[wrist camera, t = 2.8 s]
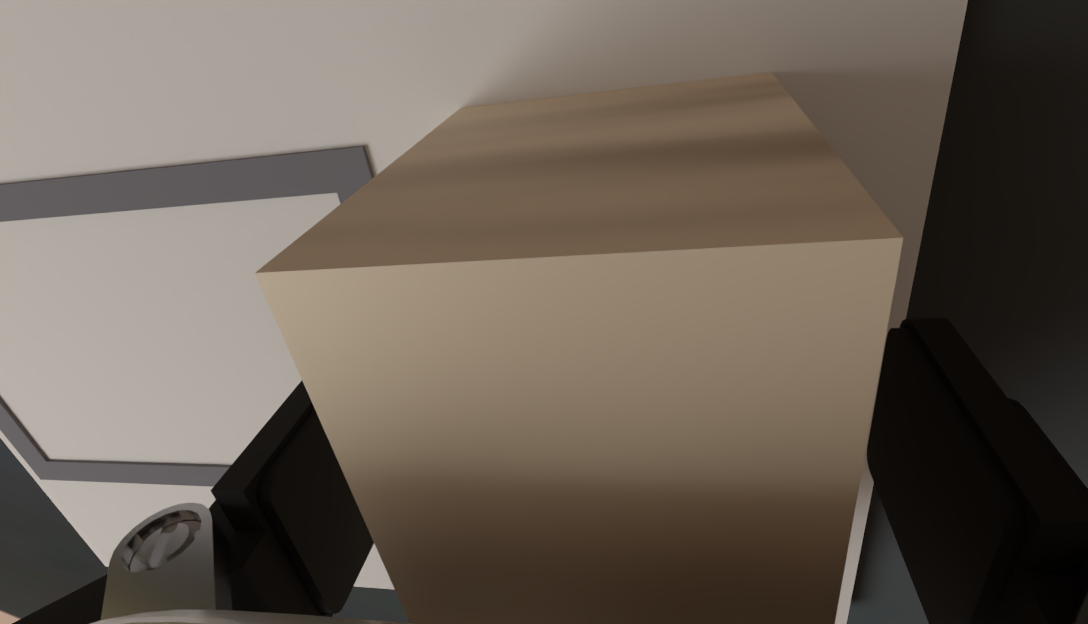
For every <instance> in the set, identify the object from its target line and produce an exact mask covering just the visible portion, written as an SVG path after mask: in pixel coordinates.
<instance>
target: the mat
mask: <svg viewBox="0 0 1088 624" xmlns="http://www.w3.org/2000/svg"><path fill="white" fill-rule="evenodd" d="M967 3H968V0H0V438H1V439H2V441H3V442H4V443H5V444H6V445H7V447H8V448H9V449H10V450H11V451H12V453H13V454H14V455H15V456H16V458H17V459H18V460H19V461H20V462H21V464H22V465H23V466H24V467H25V469H26V470H27V471H28V472H29V473H30V475H31V476H32V477H33V478H34V480H35V481H36V482H37V483H38V484H39V486H40V487H41V488H42V489H43V491H44V492H45V493H46V494H47V495H48V497H49V498H50V499H51V500H52V502H53V503H54V504H55V505H56V506H57V508H58V509H59V510H60V511H61V513H62V514H63V515H64V516H65V517H66V519H67V520H68V521H69V522H70V524H71V525H72V526H73V527H74V528H75V530H76V531H77V532H78V533H79V535H80V536H81V537H82V538H83V539H84V541H85V542H86V543H87V544H88V546H89V547H90V548H91V549H92V550H93V552H94V553H95V554H96V555H97V557H98V558H99V559H100V560H101V561H102V563H103V564H104V565H105V566H107V567H109V562H110V560H111V557H112V554H113V551H114V550H115V548H116V547H117V546H118V544H119V543H120V541H121V540H122V539H123V538H124V537H125V536H126V535H127V534H128V533H129V532H130V531H131V530H132V529H133V528H134V527H135V526H137V525H138V524H139V523H141V522H142V521H144V520H145V519H146V518H148V517H149V516H151V515H153V514H155V513H157V512H159V511H161V510H163V509H165V508H168V507H171V506H174V505H177V504H183V503H191V502H192V503H198V504H203V505H204V506H205V507H207V508H208V509H209V507H210V506H211V505H212V504H213V502H214V501H215V500H216V499H215V497H214V496H213V494H212V492H211V491H210V490H211V489H212V488H213V487H214V486H215V484H216V483H217V482H218V481H219V480H220V478H221V477H222V476H223V475H224V473H225V472H226V471H227V470H228V469H229V467H230V466H231V465H232V464H233V463H234V461H235V460H236V459H237V458H238V457H239V455H240V454H241V453H242V452H243V451H244V449H245V448H246V447H247V446H248V445H249V443H250V442H251V441H252V440H253V439H254V437H255V436H256V435H257V434H258V433H259V431H260V430H261V429H262V428H263V426H264V425H265V424H266V423H267V422H268V420H269V419H270V418H271V417H272V416H273V414H274V413H275V412H276V411H277V410H278V408H279V407H280V406H281V405H282V404H283V402H284V401H285V400H286V399H287V398H288V396H289V395H290V394H291V393H292V392H293V390H294V389H295V388H296V387H297V385H298V384H299V383H300V382H301V381H302V379H301V377H300V374H299V372H298V370H297V368H296V365H295V363H294V361H293V358H292V356H291V354H290V352H289V349H288V347H287V345H286V343H285V340H284V338H283V336H282V334H281V331H280V329H279V327H278V325H277V322H276V320H275V318H274V316H273V313H272V311H271V309H270V307H269V304H268V302H267V300H266V297H265V295H264V293H263V291H262V288H261V286H260V284H259V282H258V279H257V277H256V275H255V272H257V271H258V270H259V269H260V268H262V267H263V266H264V265H265V264H267V263H268V262H269V261H270V260H272V259H273V258H274V257H275V256H277V255H278V254H279V253H280V252H282V251H283V250H284V249H285V248H287V247H288V246H289V245H290V244H292V243H293V242H294V241H295V240H296V239H298V238H299V237H300V236H301V235H303V234H304V233H305V232H306V231H308V230H309V229H310V228H311V227H313V226H314V225H315V224H316V223H318V222H319V221H320V220H321V219H323V218H324V217H325V216H326V215H328V214H329V213H330V212H331V211H333V210H334V209H335V208H336V207H338V206H339V205H340V204H341V203H343V202H344V201H345V200H346V199H348V198H349V197H350V196H351V195H353V194H354V193H355V192H356V191H358V190H359V189H360V188H361V187H363V186H364V185H365V184H366V183H368V182H369V181H370V180H371V179H373V178H374V177H375V176H376V175H378V174H379V173H380V172H381V171H383V170H384V169H385V168H386V167H388V166H389V165H390V164H391V163H393V162H394V161H395V160H396V159H398V158H399V157H400V156H401V155H403V154H404V153H405V152H406V151H408V150H409V149H410V148H411V147H413V146H414V145H415V144H416V143H418V142H419V141H420V140H421V139H422V138H424V137H425V136H426V135H427V134H429V133H430V132H431V131H432V130H434V129H435V128H436V127H437V126H439V125H440V124H441V123H442V122H444V121H445V120H446V119H447V118H449V117H450V116H451V115H452V114H454V113H455V112H456V111H457V110H459V109H460V108H466V107H475V106H483V105H492V104H501V103H509V102H518V101H526V100H535V99H544V98H552V97H561V96H569V95H578V94H586V93H595V92H604V91H612V90H621V89H629V88H638V87H646V86H655V85H664V84H672V83H681V82H689V81H698V80H707V79H715V78H724V77H732V76H741V75H749V74H758V73H767V72H772V73H773V75H774V76H775V77H776V78H777V80H778V81H779V82H780V83H781V85H782V86H783V87H784V88H785V90H786V91H787V92H788V93H789V95H790V96H791V97H792V98H793V100H794V101H795V102H796V103H797V105H798V106H799V107H800V108H801V110H802V111H803V112H804V114H805V115H806V116H807V117H808V119H809V120H810V121H811V122H812V124H813V125H814V126H815V127H816V129H817V130H818V131H819V132H820V134H821V135H822V136H823V137H824V139H825V140H826V141H827V142H828V144H829V145H830V146H831V147H832V149H833V150H834V151H835V152H836V154H837V155H838V156H839V157H840V159H841V160H842V161H843V162H844V164H845V165H846V166H847V167H848V169H849V170H850V171H851V173H852V174H853V175H854V176H855V178H856V179H857V180H858V181H859V183H860V184H861V185H862V186H863V188H864V189H865V190H866V191H867V193H868V194H869V195H870V196H871V198H872V199H873V200H874V201H875V203H876V204H877V205H878V206H879V208H880V209H881V210H882V211H883V213H884V214H885V215H886V216H887V218H888V219H889V220H890V221H891V223H892V224H893V225H894V226H895V228H896V229H897V230H898V231H899V233H900V234H901V235H902V237H903V243H902V249H901V254H900V260H899V266H898V271H897V277H896V282H895V288H894V294H893V299H892V305H891V310H890V316H889V322H888V327H887V333H886V339H887V334H888V332H889V330H890V329H891V328H899V327H900V324H901V323H902V321H903V320H905V319H906V315H907V310H908V305H909V300H910V295H911V290H912V285H913V280H914V274H915V269H916V264H917V259H918V254H919V249H920V244H921V239H922V233H923V228H924V223H925V218H926V213H927V208H928V203H929V198H930V192H931V187H932V182H933V177H934V172H935V167H936V162H937V156H938V151H939V146H940V141H941V136H942V131H943V126H944V121H945V115H946V110H947V105H948V100H949V95H950V90H951V85H952V80H953V74H954V69H955V64H956V59H957V54H958V49H959V44H960V39H961V33H962V28H963V23H964V18H965V13H966V8H967ZM886 339H885V344H886ZM885 344H884V350H885ZM884 350H883V355H882V361H883V356H884ZM882 361H881V367H882ZM881 367H880V372H881ZM880 372H879V378H880ZM879 378H878V383H877V389H878V384H879ZM877 389H876V395H877ZM876 395H875V400H874V406H875V401H876ZM874 406H873V412H874ZM873 412H872V417H873ZM872 417H871V423H872ZM871 423H870V428H869V434H870V429H871ZM869 434H868V440H869ZM868 440H867V445H868ZM867 445H866V451H865V457H864V462H863V468H862V473H861V479H860V485H859V490H858V496H857V501H856V507H855V513H854V518H853V524H852V530H851V535H850V541H849V546H848V552H847V558H846V563H845V569H844V574H843V580H842V586H841V591H840V597H839V603H838V608H837V614H836V619H835V624H846V623H847V618H848V613H849V608H850V603H851V597H852V592H853V587H854V582H855V577H856V572H857V567H858V562H859V556H860V551H861V546H862V541H863V536H864V531H865V526H866V521H867V515H868V510H869V505H870V500H871V495H872V490H873V485H874V481H873V479H872V476H871V474H870V471H869V468H868V463H867ZM354 586H357V587H369V588H382V589H394V587H393V584H392V582H391V580H390V578H389V575H388V573H387V571H386V569H385V566H384V564H383V562H382V560H381V557H380V555H379V553H378V550H377V548H376V546H375V544H373V546H372V549H371V551H370V553H369V555H368V557H367V559H366V561H365V563H364V565H363V567H362V569H361V571H360V573H359V575H358V578H357V580H356V582H355V584H354ZM394 590H395V589H394Z"/></svg>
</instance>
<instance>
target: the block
mask: <svg viewBox="0 0 1088 624" xmlns="http://www.w3.org/2000/svg"><path fill="white" fill-rule="evenodd" d="M902 243H903V237H902V235H901V234H900V233H899V231H898V230H897V229H896V228H895V226H894V225H893V224H892V223H891V221H890V220H889V219H888V218H887V216H886V215H885V214H884V213H883V211H882V210H881V209H880V208H879V206H878V205H877V204H876V203H875V201H874V200H873V199H872V198H871V196H870V195H869V194H868V193H867V191H866V190H865V189H864V188H863V186H862V185H861V184H860V183H859V181H858V180H857V179H856V178H855V176H854V175H853V174H852V173H851V171H850V170H849V169H848V167H847V166H846V165H845V164H844V162H843V161H842V160H841V159H840V157H839V156H838V155H837V154H836V152H835V151H834V150H833V149H832V147H831V146H830V145H829V144H828V142H827V141H826V140H825V139H824V137H823V136H822V135H821V134H820V132H819V131H818V130H817V129H816V127H815V126H814V125H813V124H812V122H811V121H810V120H809V119H808V117H807V116H806V115H805V114H804V112H803V111H802V110H801V108H800V107H799V106H798V105H797V103H796V102H795V101H794V100H793V98H792V97H791V96H790V95H789V93H788V92H787V91H786V90H785V88H784V87H783V86H782V85H781V83H780V82H779V81H778V80H777V78H776V77H775V76H774V75H773V73H772V72H767V73H758V74H749V75H741V76H732V77H724V78H715V79H707V80H698V81H689V82H681V83H672V84H664V85H655V86H646V87H638V88H629V89H621V90H612V91H604V92H595V93H586V94H578V95H569V96H561V97H552V98H544V99H535V100H526V101H518V102H509V103H501V104H492V105H483V106H475V107H466V108H460V109H459V110H457V111H456V112H455V113H454V114H452V115H451V116H450V117H449V118H447V119H446V120H445V121H444V122H442V123H441V124H440V125H439V126H437V127H436V128H435V129H434V130H432V131H431V132H430V133H429V134H427V135H426V136H425V137H424V138H422V139H421V140H420V141H419V142H418V143H416V144H415V145H414V146H413V147H411V148H410V149H409V150H408V151H406V152H405V153H404V154H403V155H401V156H400V157H399V158H398V159H396V160H395V161H394V162H393V163H391V164H390V165H389V166H388V167H386V168H385V169H384V170H383V171H381V172H380V173H379V174H378V175H376V176H375V177H374V178H373V179H371V180H370V181H369V182H368V183H366V184H365V185H364V186H363V187H361V188H360V189H359V190H358V191H356V192H355V193H354V194H353V195H351V196H350V197H349V198H348V199H346V200H345V201H344V202H343V203H341V204H340V205H339V206H338V207H336V208H335V209H334V210H333V211H331V212H330V213H329V214H328V215H326V216H325V217H324V218H323V219H321V220H320V221H319V222H318V223H316V224H315V225H314V226H313V227H311V228H310V229H309V230H308V231H306V232H305V233H304V234H303V235H301V236H300V237H299V238H298V239H296V240H295V241H294V242H293V243H292V244H290V245H289V246H288V247H287V248H285V249H284V250H283V251H282V252H280V253H279V254H278V255H277V256H275V257H274V258H273V259H272V260H270V261H269V262H268V263H267V264H265V265H264V266H263V267H262V268H260V269H259V270H258V271H257V272H255V275H256V277H257V279H258V282H259V284H260V286H261V288H262V291H263V293H264V295H265V297H266V300H267V302H268V304H269V307H270V309H271V311H272V313H273V316H274V318H275V320H276V322H277V325H278V327H279V329H280V331H281V334H282V336H283V338H284V340H285V343H286V345H287V347H288V349H289V352H290V354H291V356H292V358H293V361H294V363H295V365H296V368H297V370H298V372H299V374H300V377H301V379H302V381H303V383H304V386H305V388H306V390H307V392H308V395H309V397H310V399H311V401H312V404H313V406H314V408H315V410H316V413H317V415H318V417H319V419H320V422H321V424H322V426H323V428H324V431H325V433H326V435H327V438H328V440H329V442H330V444H331V447H332V449H333V451H334V453H335V456H336V458H337V460H338V462H339V465H340V467H341V469H342V471H343V474H344V476H345V478H346V480H347V483H348V485H349V487H350V489H351V492H352V494H353V496H354V499H355V501H356V503H357V505H358V508H359V510H360V512H361V514H362V517H363V519H364V521H365V523H366V526H367V528H368V530H369V532H370V535H371V537H372V539H373V541H374V544H375V546H376V548H377V550H378V553H379V555H380V557H381V560H382V562H383V564H384V566H385V569H386V571H387V573H388V575H389V578H390V580H391V582H392V584H393V587H394V589H395V591H396V593H397V596H398V598H399V600H400V602H401V605H402V607H403V609H404V611H405V614H406V616H407V618H408V621H409V623H411V624H835V619H836V614H837V608H838V603H839V597H840V591H841V586H842V580H843V574H844V569H845V563H846V558H847V552H848V546H849V541H850V535H851V530H852V524H853V518H854V513H855V507H856V501H857V496H858V490H859V485H860V479H861V473H862V468H863V462H864V457H865V451H866V445H867V440H868V434H869V428H870V423H871V417H872V412H873V406H874V400H875V395H876V389H877V383H878V378H879V372H880V367H881V361H882V355H883V350H884V344H885V339H886V333H887V327H888V322H889V316H890V310H891V305H892V299H893V294H894V288H895V282H896V277H897V271H898V266H899V260H900V254H901V249H902Z"/></svg>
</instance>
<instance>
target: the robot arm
mask: <svg viewBox="0 0 1088 624" xmlns="http://www.w3.org/2000/svg"><path fill="white" fill-rule="evenodd" d="M867 463H868V468H869V471H870V474H871V476H872V479H873V481H874V484H875V486H876V489H877V492H878V494H879V497H880V499H881V502H882V504H883V507H884V510H885V512H886V515H887V517H888V520H889V522H890V525H891V527H892V530H893V533H894V535H895V538H896V540H897V543H898V545H899V548H900V550H901V553H902V556H903V558H904V561H905V563H906V566H907V568H908V571H909V573H910V576H911V579H912V581H913V584H914V586H915V589H916V591H917V594H918V597H919V599H920V602H921V604H922V607H923V609H924V612H925V614H926V617H927V620H928V622H929V624H1088V489H1087V488H1086V486H1085V485H1084V484H1083V482H1082V481H1081V480H1080V479H1079V477H1078V476H1077V475H1076V473H1075V472H1074V471H1073V470H1072V468H1071V467H1070V466H1069V464H1068V463H1067V462H1066V461H1065V459H1064V458H1063V457H1062V455H1061V454H1060V453H1059V452H1058V450H1057V449H1056V448H1055V446H1054V445H1053V444H1052V443H1051V441H1050V440H1049V439H1048V437H1047V436H1046V435H1045V434H1044V432H1043V431H1042V430H1041V429H1040V427H1039V426H1038V425H1037V423H1036V422H1035V421H1034V420H1033V418H1032V417H1031V416H1030V414H1029V413H1028V412H1027V411H1026V409H1025V408H1024V407H1023V406H1022V405H1021V404H1020V403H1019V402H1017V401H1015V400H1012V399H1008V398H1007V397H1006V396H1005V394H1004V393H1003V392H1002V390H1001V389H1000V388H999V386H998V385H997V384H996V382H995V381H994V380H993V378H992V377H991V376H990V374H989V373H988V372H987V371H986V369H985V368H984V367H983V365H982V364H981V363H980V361H979V360H978V359H977V357H976V356H975V355H974V353H973V352H972V351H971V349H970V348H969V347H968V345H967V344H966V343H965V341H964V340H963V339H962V337H961V336H960V335H959V334H958V332H957V331H956V330H955V328H954V327H953V326H952V324H951V323H950V322H949V321H948V320H947V319H946V318H919V319H905V320H903V321H902V323H901V324H900V327H899V328H891V329H890V330H889V332H888V334H887V339H886V344H885V350H884V356H883V361H882V367H881V372H880V378H879V384H878V389H877V395H876V401H875V406H874V412H873V417H872V423H871V429H870V434H869V440H868V445H867ZM210 491H211V492H212V494H213V496H214V497H215V499H216V500H215V501H214V502H213V504H212V505H211V506H210V507H209V509H208V508H207V507H205V506H204V505H203V504H198V503H192V502H191V503H183V504H177V505H174V506H171V507H168V508H165V509H163V510H161V511H159V512H157V513H155V514H153V515H151V516H149V517H148V518H146V519H145V520H144V521H142V522H141V523H139V524H138V525H137V526H135V527H134V528H133V529H132V530H131V531H130V532H129V533H128V534H127V535H126V536H125V537H124V538H123V539H122V540H121V541H120V543H119V544H118V546H117V547H116V548H115V550H114V551H113V554H112V557H111V560H110V562H109V568H108V574H107V575H105V576H103V577H101V578H99V579H97V580H95V581H94V582H92V583H90V584H88V585H86V586H84V587H82V588H80V589H78V590H76V591H74V592H72V593H70V594H68V595H67V596H65V597H63V598H61V599H59V600H57V601H55V602H53V603H51V604H49V605H47V606H45V607H43V608H41V609H40V610H38V611H36V612H34V613H32V614H30V615H28V616H26V617H24V618H22V619H20V620H18V621H16V622H15V623H13V624H411V623H399V622H387V621H374V620H362V619H350V618H338V617H332V615H333V613H334V614H336V613H338V612H339V611H340V610H341V609H342V608H343V606H344V604H345V602H346V600H347V598H348V596H349V594H350V592H351V590H352V588H353V586H354V584H355V582H356V580H357V578H358V575H359V573H360V571H361V569H362V567H363V565H364V563H365V561H366V559H367V557H368V555H369V553H370V551H371V549H372V546H373V544H374V541H373V539H372V537H371V535H370V532H369V530H368V528H367V526H366V523H365V521H364V519H363V517H362V514H361V512H360V510H359V508H358V505H357V503H356V501H355V499H354V496H353V494H352V492H351V489H350V487H349V485H348V483H347V480H346V478H345V476H344V474H343V471H342V469H341V467H340V465H339V462H338V460H337V458H336V456H335V453H334V451H333V449H332V447H331V444H330V442H329V440H328V438H327V435H326V433H325V431H324V428H323V426H322V424H321V422H320V419H319V417H318V415H317V413H316V410H315V408H314V406H313V404H312V401H311V399H310V397H309V395H308V392H307V390H306V388H305V386H304V383H303V381H301V382H300V383H299V384H298V385H297V387H296V388H295V389H294V390H293V392H292V393H291V394H290V395H289V396H288V398H287V399H286V400H285V401H284V402H283V404H282V405H281V406H280V407H279V408H278V410H277V411H276V412H275V413H274V414H273V416H272V417H271V418H270V419H269V420H268V422H267V423H266V424H265V425H264V426H263V428H262V429H261V430H260V431H259V433H258V434H257V435H256V436H255V437H254V439H253V440H252V441H251V442H250V443H249V445H248V446H247V447H246V448H245V449H244V451H243V452H242V453H241V454H240V455H239V457H238V458H237V459H236V460H235V461H234V463H233V464H232V465H231V466H230V467H229V469H228V470H227V471H226V472H225V473H224V475H223V476H222V477H221V478H220V480H219V481H218V482H217V483H216V484H215V486H214V487H213V488H212V489H211V490H210Z"/></svg>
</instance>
